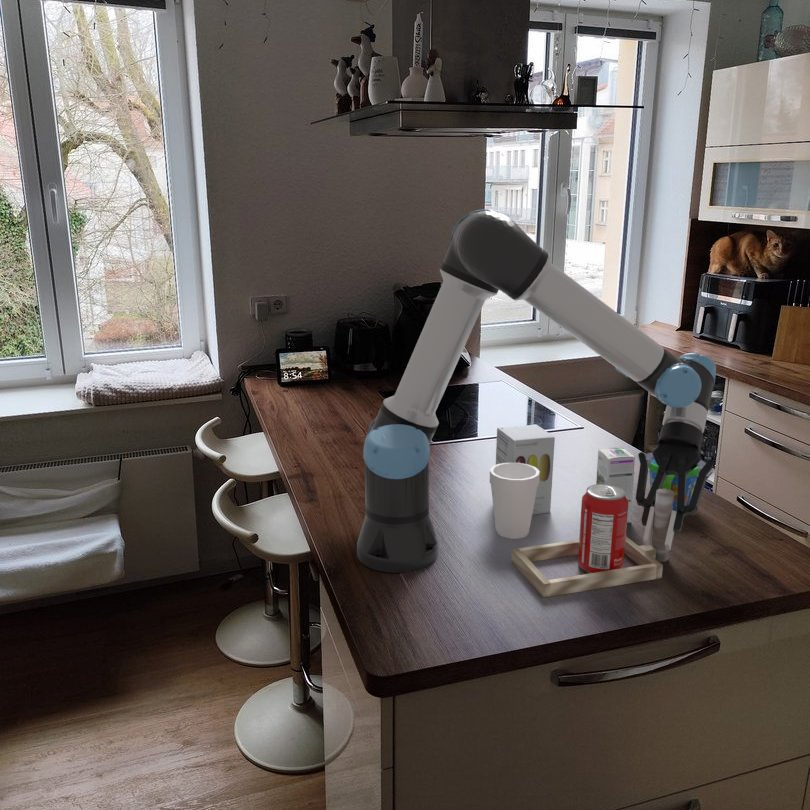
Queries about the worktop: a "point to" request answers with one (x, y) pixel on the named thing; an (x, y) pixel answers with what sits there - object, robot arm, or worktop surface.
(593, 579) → the birch pull frame
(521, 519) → the foam cup
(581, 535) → the soda can
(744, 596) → the worktop surface
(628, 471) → the syrup box
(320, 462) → the worktop surface
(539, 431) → the supplement box
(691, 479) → the snack cup
